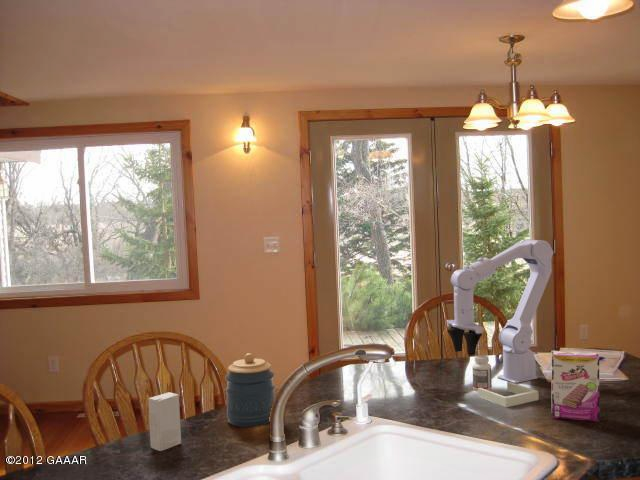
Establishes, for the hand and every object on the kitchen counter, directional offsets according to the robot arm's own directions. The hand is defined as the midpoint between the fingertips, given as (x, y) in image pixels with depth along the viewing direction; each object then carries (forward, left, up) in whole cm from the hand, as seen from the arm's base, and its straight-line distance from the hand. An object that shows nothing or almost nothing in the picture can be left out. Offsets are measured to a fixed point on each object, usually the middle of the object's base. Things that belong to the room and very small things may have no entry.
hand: (464, 353), depth 186 cm
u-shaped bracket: (0, +18, -9) cm, 20 cm away
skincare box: (+92, +3, -10) cm, 93 cm away
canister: (+68, -4, -10) cm, 69 cm away
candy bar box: (-3, +39, -10) cm, 40 cm away
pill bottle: (0, +8, -10) cm, 12 cm away
